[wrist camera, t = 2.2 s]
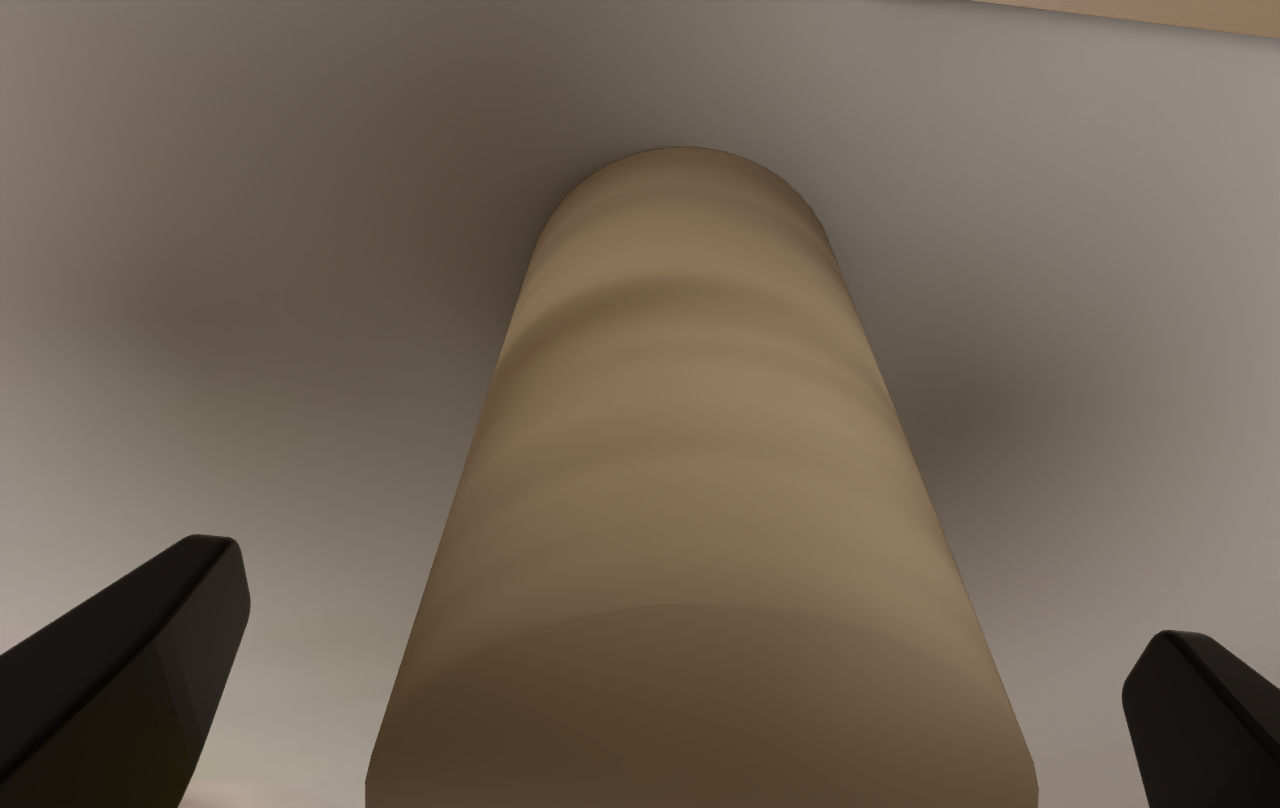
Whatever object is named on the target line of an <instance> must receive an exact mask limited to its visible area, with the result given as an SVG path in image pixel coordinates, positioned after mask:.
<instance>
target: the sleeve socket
mask: <svg viewBox="0 0 1280 808" xmlns="http://www.w3.org/2000/svg"><path fill="white" fill-rule="evenodd" d="M973 1H981V2H989V3H997V4H1005V5H1013V6H1021V7H1029V8H1037V9H1045V10H1053V11H1061V12H1069V13H1077V14H1085V15H1093V16H1101V17H1110V18H1118V19H1126V20H1134V21H1142V22H1150V23H1158V24H1166V25H1174V26H1182V27H1190V28H1198V29H1206V30H1214V31H1222V32H1230V33H1238V34H1246V35H1254V36H1263V37H1271V38H1279V39H1280V0H973Z"/></svg>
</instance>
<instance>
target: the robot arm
mask: <svg viewBox="0 0 1280 808" xmlns="http://www.w3.org/2000/svg"><path fill="white" fill-rule="evenodd" d="M250 602H251V600H250V593H249V588H248V583H247V578H246V573H245V568H244V563H243V558H242V553H241V549H240V546H239V544H238V543H237V541H236V540H234V539H232V538H230V537H222V536H212V535H201V534H194V535H190V536H187V537H185V538H183V539H181V540H180V541H178V542H177V543H175V544H173V545H172V546H170V547H169V548H167V549H166V550H164V551H163V552H161V553H159V554H158V555H156V556H155V557H153V558H152V559H150V560H148V561H147V562H145V563H144V564H142V565H141V566H139V567H137V568H136V569H134V570H133V571H131V572H130V573H128V574H127V575H125V576H123V577H122V578H120V579H119V580H117V581H116V582H114V583H112V584H111V585H109V586H108V587H106V588H105V589H103V590H101V591H100V592H98V593H97V594H95V595H94V596H92V597H91V598H89V599H87V600H86V601H84V602H83V603H81V604H80V605H78V606H76V607H75V608H73V609H72V610H70V611H69V612H67V613H65V614H64V615H62V616H61V617H59V618H58V619H56V620H55V621H53V622H51V623H50V624H48V625H47V626H45V627H44V628H42V629H40V630H39V631H37V632H36V633H34V634H33V635H31V636H29V637H28V638H26V639H25V640H23V641H22V642H20V643H19V644H17V645H15V646H14V647H12V648H11V649H9V650H8V651H6V652H4V653H3V654H1V655H0V808H178V806H179V804H180V802H181V800H182V798H183V796H184V793H185V791H186V789H187V787H188V784H189V782H190V780H191V778H192V776H193V773H194V771H195V768H196V766H197V763H198V761H199V758H200V755H201V753H202V750H203V747H204V745H205V742H206V739H207V736H208V733H209V730H210V728H211V725H212V722H213V719H214V716H215V713H216V711H217V708H218V705H219V702H220V699H221V696H222V694H223V691H224V688H225V685H226V682H227V679H228V677H229V674H230V671H231V668H232V665H233V662H234V660H235V657H236V654H237V651H238V648H239V645H240V643H241V640H242V637H243V634H244V631H245V628H246V625H247V622H248V619H249V614H250ZM1122 704H1123V710H1124V713H1125V717H1126V721H1127V725H1128V728H1129V732H1130V736H1131V740H1132V743H1133V747H1134V751H1135V755H1136V758H1137V762H1138V766H1139V770H1140V773H1141V777H1142V781H1143V785H1144V788H1145V792H1146V796H1147V800H1148V803H1149V807H1150V808H1280V689H1279V688H1277V687H1276V686H1275V685H1273V684H1272V683H1271V682H1269V681H1268V680H1267V679H1265V678H1264V677H1263V676H1261V675H1260V674H1259V673H1257V672H1256V671H1255V670H1253V669H1252V668H1251V667H1249V666H1248V665H1247V664H1245V663H1244V662H1243V661H1241V660H1240V659H1239V658H1238V657H1236V656H1235V655H1234V654H1232V653H1231V652H1230V651H1228V650H1227V649H1226V648H1224V647H1223V646H1222V645H1220V644H1219V643H1218V642H1216V641H1215V640H1214V639H1212V638H1211V637H1209V636H1207V635H1204V634H1201V633H1195V632H1185V631H1175V630H1163V631H1161V632H1159V633H1157V634H1156V635H1154V637H1153V638H1152V639H1151V641H1150V642H1149V644H1148V645H1147V647H1146V648H1145V650H1144V652H1143V653H1142V655H1141V656H1140V658H1139V659H1138V661H1137V663H1136V664H1135V666H1134V667H1133V669H1132V670H1131V672H1130V673H1129V675H1128V677H1127V678H1126V680H1125V682H1124V686H1123V690H1122Z"/></svg>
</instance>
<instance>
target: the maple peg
mask: <svg viewBox="0 0 1280 808" xmlns="http://www.w3.org/2000/svg"><path fill="white" fill-rule="evenodd" d="M1038 792H1039V788H1038V783H1037V778H1036V773H1035V768H1034V762H1033V760H1032V757H1031V755H1030V752H1029V750H1028V747H1027V745H1026V742H1025V739H1024V737H1023V734H1022V732H1021V729H1020V727H1019V724H1018V722H1017V719H1016V717H1015V714H1014V711H1013V709H1012V706H1011V704H1010V701H1009V699H1008V696H1007V694H1006V691H1005V689H1004V686H1003V683H1002V681H1001V678H1000V676H999V673H998V671H997V668H996V666H995V663H994V660H993V658H992V655H991V653H990V650H989V648H988V645H987V643H986V640H985V638H984V635H983V632H982V630H981V627H980V625H979V622H978V620H977V617H976V615H975V612H974V610H973V607H972V604H971V602H970V599H969V597H968V594H967V592H966V589H965V587H964V584H963V582H962V579H961V576H960V574H959V571H958V569H957V566H956V564H955V561H954V559H953V556H952V553H951V551H950V548H949V546H948V543H947V541H946V538H945V536H944V533H943V531H942V528H941V525H940V523H939V520H938V518H937V515H936V513H935V510H934V508H933V505H932V503H931V500H930V497H929V495H928V492H927V490H926V487H925V485H924V482H923V480H922V477H921V475H920V472H919V469H918V467H917V464H916V462H915V459H914V457H913V454H912V452H911V449H910V446H909V444H908V441H907V439H906V436H905V434H904V431H903V429H902V426H901V424H900V421H899V418H898V416H897V413H896V411H895V408H894V406H893V403H892V401H891V398H890V396H889V393H888V390H887V388H886V385H885V383H884V380H883V378H882V375H881V373H880V370H879V367H878V365H877V362H876V360H875V357H874V355H873V352H872V350H871V347H870V345H869V342H868V339H867V337H866V334H865V332H864V329H863V327H862V324H861V322H860V319H859V317H858V314H857V311H856V309H855V306H854V304H853V301H852V299H851V296H850V294H849V291H848V289H847V286H846V283H845V281H844V278H843V276H842V273H841V271H840V268H839V266H838V263H837V260H836V258H835V255H834V253H833V250H832V248H831V245H830V243H829V240H828V238H827V236H826V233H825V231H824V229H823V226H822V225H821V223H820V221H819V220H818V218H817V216H816V215H815V213H814V212H813V210H812V209H811V207H810V206H809V205H808V204H807V203H806V201H805V200H804V199H803V198H802V197H801V195H800V194H799V193H798V192H797V191H795V190H794V189H793V188H792V187H791V186H790V185H789V184H788V183H787V182H785V181H784V180H783V179H782V178H780V177H779V176H777V175H776V174H774V173H773V172H771V171H770V170H768V169H766V168H765V167H763V166H761V165H758V164H756V163H754V162H752V161H750V160H748V159H746V158H743V157H740V156H737V155H733V154H730V153H727V152H723V151H718V150H712V149H707V148H694V147H674V148H661V149H655V150H651V151H646V152H641V153H637V154H634V155H632V156H629V157H626V158H623V159H620V160H617V161H615V162H613V163H612V164H610V165H608V166H606V167H604V168H602V169H600V170H598V171H596V172H595V173H594V174H592V175H591V176H589V177H588V178H586V179H585V180H583V181H582V182H581V183H580V184H578V185H577V186H576V187H575V188H574V189H573V190H572V191H571V192H570V193H569V194H568V195H566V196H565V198H564V199H563V200H562V201H561V202H560V204H559V205H558V206H557V207H556V209H555V210H554V211H553V212H552V214H551V215H550V217H549V219H548V220H547V222H546V224H545V225H544V227H543V229H542V231H541V233H540V235H539V238H538V240H537V242H536V245H535V247H534V250H533V254H532V257H531V260H530V263H529V266H528V269H527V272H526V275H525V278H524V282H523V285H522V288H521V291H520V294H519V297H518V300H517V303H516V307H515V310H514V313H513V316H512V319H511V322H510V325H509V328H508V331H507V335H506V338H505V341H504V344H503V347H502V350H501V353H500V356H499V359H498V363H497V366H496V369H495V372H494V375H493V378H492V381H491V384H490V388H489V391H488V394H487V397H486V400H485V403H484V406H483V409H482V412H481V416H480V419H479V422H478V425H477V428H476V431H475V434H474V437H473V441H472V444H471V447H470V450H469V453H468V456H467V459H466V462H465V465H464V469H463V472H462V475H461V478H460V481H459V484H458V487H457V490H456V494H455V497H454V500H453V503H452V506H451V509H450V512H449V515H448V518H447V522H446V525H445V528H444V531H443V534H442V537H441V540H440V543H439V546H438V550H437V553H436V556H435V559H434V562H433V565H432V568H431V571H430V575H429V578H428V581H427V584H426V587H425V590H424V593H423V596H422V599H421V603H420V606H419V609H418V612H417V615H416V618H415V621H414V624H413V628H412V631H411V634H410V637H409V640H408V643H407V646H406V649H405V652H404V656H403V659H402V662H401V665H400V668H399V671H398V674H397V677H396V680H395V684H394V687H393V690H392V693H391V696H390V699H389V702H388V705H387V709H386V712H385V715H384V718H383V721H382V724H381V727H380V730H379V733H378V737H377V740H376V743H375V746H374V749H373V752H372V755H371V759H370V764H369V768H368V772H367V777H366V781H365V807H366V808H1038Z"/></svg>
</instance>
